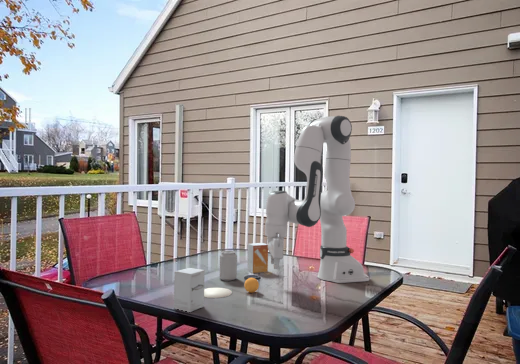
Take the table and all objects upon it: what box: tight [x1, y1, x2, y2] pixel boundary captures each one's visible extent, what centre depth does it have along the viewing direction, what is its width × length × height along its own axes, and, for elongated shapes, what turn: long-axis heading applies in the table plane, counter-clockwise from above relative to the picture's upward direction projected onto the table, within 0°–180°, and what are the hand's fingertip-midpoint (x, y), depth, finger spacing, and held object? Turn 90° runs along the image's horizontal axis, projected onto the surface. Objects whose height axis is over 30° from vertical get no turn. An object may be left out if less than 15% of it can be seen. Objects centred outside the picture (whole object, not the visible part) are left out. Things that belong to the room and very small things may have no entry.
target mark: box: [204, 287, 233, 299], centre depth 147 cm, size 13×13×1 cm
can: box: [219, 250, 238, 282], centre depth 168 cm, size 8×8×12 cm
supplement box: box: [173, 267, 206, 313], centre depth 129 cm, size 7×7×13 cm
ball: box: [243, 277, 260, 294], centre depth 148 cm, size 6×6×6 cm
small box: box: [246, 242, 269, 274], centre depth 183 cm, size 8×6×13 cm
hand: (274, 266), depth 153 cm, fingers open, 8 cm apart
